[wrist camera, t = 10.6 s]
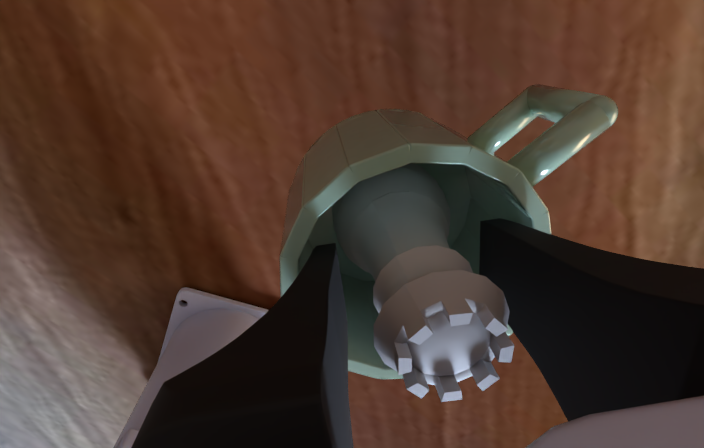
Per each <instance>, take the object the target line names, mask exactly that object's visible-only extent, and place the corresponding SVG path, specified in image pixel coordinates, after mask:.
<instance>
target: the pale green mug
mask: <svg viewBox="0 0 704 448" xmlns="http://www.w3.org/2000/svg"><path fill="white" fill-rule="evenodd" d="M617 116H618V107H617V104H616V103H615V101H614V100H613V99H611V98H609V97H607V96H603V95H598V94H592V93H586V92H580V91H575V90H569V89H563V88H557V87H552V86H546V85H540V84H536V85H532V86H530V87H528V88H526V89H525V90H524V91H523V92H522V93H520V94H519V95H518V96H517V97H516V98H514V99H513V100H512V101H511V102H510V103H508V104H507V105H506V106H505V107H504V108H503V109H501V110H500V111H499V112H498V113H497V114H495V115H494V116H493V117H492V118H491V119H489V120H488V121H487V122H486V123H485V124H483V125H482V126H481V127H480V128H479V129H478V130H476V131H475V132H474V133H473V134H472V135H470V136H469V137H468V138H466V137H465V136H463V135H461V134H460V133H458V132H456V131H455V130H453V129H451V128H449V127H447V126H445V125H443V124H441V123H439V122H437V121H436V120H434V119H432V118H430V117H428V116H426V115H424V114H422V113H418V112H412V111H408V110H400V109H380V110H374V111H367V112H364V113H361V114H358V115H354V116H352V117H350V118H348V119H346V120H343V121H341V122H340V123H338V124H337V125H335V126H333V127H332V128H330V129H329V130H328V131H326V132H325V133H324V134H323V135H322V136H320V137H319V138H318V139H317V141H316V142H315V143H314V144H313V145H312V146H311V147H310V148H309V150H308V151H307V153H306V154H305V156H304V157H303V159H302V161H301V162H300V164H299V166H298V168H297V171H296V174H295V176H294V179H293V183H292V185H291V187H290V190H289V195H288V202H287V209H286V216H285V223H284V230H283V237H282V244H281V251H280V290H281V297H282V296H283V294H284V293H285V292H286V291H287V289H288V288H289V287H290V285H291V284H292V283H293V281H294V280H295V279H296V277H297V276H298V274H299V273H300V271H301V270H302V268H303V267H304V265H305V263H306V262H307V260H308V258H309V256H310V255H311V253H312V251H313V249H314V248H315V247H316V246H318V245H325V244H332V243H336V249H337V255H338V261H339V267H340V273H341V279H342V285H343V291H344V298H345V306H346V314H347V322H348V371H351V372H355V373H358V374H362V375H366V376H369V377H373V378H377V379H404V378H403V375H402V374H401V375H398V372H397V371H395V370H394V369H392V368H391V367H389V366H387V365H386V364H384V362H383V361H382V359H381V357H380V356H379V354H378V352H377V351H376V349H375V347H374V323H375V321H376V319H377V317H378V315H379V313H378V311H377V309H376V308H375V306H374V302H373V287H374V284H375V280H374V278H373V276H372V275H371V274H370V273H369V272H365V271H364V270H363V269H361V268H360V267H359V266H357V265H356V264H355V263H353V262H352V261H350V260H349V258H348V257H347V256H346V254H345V252H344V251H343V249H342V247H341V245H340V244H339V242H338V240H337V234H336V232H335V230H334V224H333V210H332V209H333V206H334V203H335V202H336V201H338V200H339V199H340V198H341V197H342V196H343V195H344V194H345V193H347V192H348V191H349V190H350V189H351V188H352V187H353V186H355V185H356V184H357V183H358V182H360V181H363V180H365V179H368V178H371V177H374V176H376V175H379V174H382V173H385V172H387V171H390V170H393V169H396V168H398V167H401V166H404V165H406V164H409V163H413V164H416V165H418V166H421V167H423V168H424V169H425V170H426V171H427V172H428V173H429V174H430V175H431V176H432V177H433V178H434V179H435V180H436V181H437V183H438V185H439V187H440V188H441V189H442V190H443V192H444V195H445V198H446V200H447V203H448V206H449V208H450V214H451V215H450V228H449V235H448V237H447V242H448V245H449V248H450V249H452V250H455V251H457V252H458V253H459V254H460V255H461V256H463V257H464V258H465V259H466V260H467V261H468V262H469V263H470V266H471V269H472V271H473V273H475V274H478V275H479V261H480V221H484V220H491V219H497V218H501V219H506V220H510V221H513V222H516V223H519V224H522V225H525V226H528V227H531V228H534V229H537V230H540V231H542V232H545V233H548V234H551V227H550V218H549V211H548V209H547V207H546V206H545V204H544V203H543V201H542V200H541V198H540V197H539V195H538V194H537V193H536V191H535V190H534V188H533V186H534V185H536V184H537V183H538V182H540V181H541V180H542V179H543V178H545V177H546V176H547V175H549V174H550V173H551V172H553V171H554V170H555V169H556V168H558V167H559V166H560V165H562V164H563V163H564V162H566V161H567V160H568V159H569V158H571V157H572V156H573V155H575V154H576V153H577V152H579V151H580V150H581V149H582V148H584V147H585V146H586V145H588V144H589V143H590V142H592V141H593V140H594V139H595V138H597V137H598V136H599V135H601V134H602V133H603V132H605V131H606V130H607V129H608V128H610V127H611V126H612V125H613V124H614V122H615V121H616V119H617ZM537 117H539V118H542V119H545V120H548V121H551V122H555V124H554V125H552V126H551V127H550V128H549V129H547V130H546V131H545V132H544V133H542V134H541V135H540V136H539V137H537V138H536V139H535V140H534V141H532V142H531V143H530V144H529V145H527V146H526V147H525V148H524V149H523V150H521V151H520V152H519V153H518V154H516V155H515V156H514V157H513V158H511V159H510V160H509V161H508V162H507V161H505V160H503V159H502V158H500V157H498V156H496V155H495V154H493V153H494V152H495V151H496V150H497V149H499V148H500V147H501V146H502V145H504V144H505V143H506V142H507V141H508V140H510V139H511V138H512V137H513V136H515V135H516V134H517V133H518V132H519V131H521V130H522V129H523V128H524V127H526V126H527V125H528V124H529V123H531V122H532V121H533V120H534V119H535V118H537ZM507 328H508V329H509V330H507V331H506V334H507V335H508V337H509V336H510V335H511V334H512V333H513V331H512V329H511V328H510V326H509V325H508V324H507Z"/></svg>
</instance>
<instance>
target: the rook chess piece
mask: <svg viewBox="0 0 704 448" xmlns="http://www.w3.org/2000/svg"><path fill="white" fill-rule="evenodd" d="M332 210H333V224H334V230H335V232H336V234H337V240H338V242H339V244H340V245H341V247H342V249H343V251H344V252H345V254H346V256H347V257H348V258H349V260H350V261H352V262H353V263H355V264H356V265H357V266H359V267H360V268H361V269H363V270H364V271H365V272H369V273H370V274H371V275H372V276H373V278H374V280H375V284H374V287H373V302H374V306H375V308H376V309H377V311H378V313H379V315H378V317H377V319H376V321H375V323H374V347H375V349H376V351H377V352H378V354H379V356H380V357H381V359H382V361H383V362H384V364H386V365H387V366H389V367H391V368H392V369H394V370H395V371H397V372H398V375H401V374H402V375H403V378H404V381H405V385H406V389H407V390H409V391H410V392H412V393H414V394H415V395H417V396H419V397H420V398H423V396H424V395H425V394H426V393H427V392H428V391H429V388H428V385H427V384H431V385H435V386H436V389H437V392H438V395H439V397H440V400H441V402H444V401H453V400H461V399H462V394H461V390H460V387H459V385H458V383H457V382H459V381H461V380H464V379H466V378H468V377H471V376H473V377H474V379H475V381H476V383H477V385H478V386H479V387H480V389H481V390H482V391H484V390H485V389H486V388H488V387H489V386H490V385H492V384H493V383H494V382H496V381H497V380H498V379H500V378H499V376H498V374H497V373H496V371H495V369H494V367H493V366H492V364H491V361H492V360H493V358H494V357H496V358H497V360H498V362H511V359H512V354H513V349H514V344H513V343H512V341H511V340H510V338H509V337H508V335H507V334H506V331H507V330H509V329H508V328H507V323H508V318H509V312H510V311H509V308H508V305H507V302H506V299H505V296H504V293H503V291H502V290H501V289H500V288H498V287H497V286H496V285H495V284H494V283H493V282H492V281H490V280H489V279H488V278H487V277H486V276H482V275H478V274H475V273H473V271H472V269H471V266H470V263H469V262H468V261H467V260H466V259H465V258H464V257H463V256H461V255H460V254H459V253H458V252H457V251H455V250H452V249H450V248H449V245H448V242H447V237H448V235H449V228H450V215H451V214H450V208H449V206H448V203H447V200H446V198H445V195H444V192H443V190H442V189H441V188H440V187H439V185H438V183H437V181H436V180H435V179H434V178H433V177H432V176H431V175H430V174H429V173H428V172H427V171H426V170H425V169H424V168H423V167H421V166H418V165H416V164H413V163H409V164H406V165H404V166H401V167H398V168H396V169H393V170H390V171H387V172H385V173H382V174H379V175H376V176H374V177H371V178H368V179H365V180H363V181H360V182H358V183H357V184H356V185H355V186H353V187H352V188H351V189H350V190H349V191H348V192H347V193H345V194H344V195H343V196H342V197H341V198H340V199H339V200H338V201H336V202H335V203H334V206H333V209H332Z"/></svg>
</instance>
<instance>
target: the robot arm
mask: <svg viewBox="0 0 704 448" xmlns="http://www.w3.org/2000/svg"><path fill="white" fill-rule="evenodd" d="M479 275H482V276H486V277H487V278H488V279H489V280H490V281H492V282H493V283H494V284H495V285H496V286H497V287H498V288H500V289H501V290H502V291H503V293H504V296H505V299H506V302H507V305H508V308H509V311H510V312H509V318H508V323H507V324H508V325H509V326H510V328H511V329H512V331H513V332H514V333H515V335H516V336H517V337H518V339H519V340H520V342H521V343H522V344H523V346H524V347H525V349H526V350H527V351H528V353H529V354H530V356H531V357H532V358H533V360H534V362H535V363H536V365H537V366H538V368H539V369H540V371H541V373H542V374H543V376H544V378H545V380H546V381H547V383H548V385H549V387H550V388H551V390H552V392H553V394H554V395H555V397H556V399H557V401H558V403H559V405H560V406H561V408H562V410H563V412H564V414H565V416H566V418H567V420H568V422H565V423H563V424H560V425H557V426H554V427H552V428H550V429H549V430H548V431H547V432H545V433H544V434H543V435H541V436H540V437H539V438H538V439H536V440H535V441H534V442H532V443H531V444H530V445H528V446H527V447H526V448H704V269H702V268H694V267H686V266H680V265H674V264H667V263H661V262H655V261H649V260H644V259H639V258H634V257H630V256H625V255H621V254H616V253H612V252H608V251H604V250H600V249H596V248H593V247H589V246H586V245H583V244H579V243H576V242H572V241H569V240H566V239H563V238H560V237H557V236H554V235H551V234H548V233H545V232H542V231H540V230H537V229H534V228H531V227H528V226H525V225H522V224H519V223H516V222H513V221H510V220H506V219H501V218H497V219H491V220H484V221H480V261H479ZM181 300H185V301H186V302H187V303H183V302H182V301H181ZM114 448H353V439H352V429H351V419H350V409H349V398H348V322H347V314H346V306H345V298H344V291H343V285H342V279H341V273H340V267H339V261H338V255H337V249H336V243H332V244H325V245H318V246H316V247H315V248H314V249H313V251H312V253H311V255H310V256H309V258H308V260H307V262H306V263H305V265H304V267H303V268H302V270H301V271H300V273H299V274H298V276H297V277H296V279H295V280H294V281H293V283H292V284H291V285H290V287H289V288H288V289H287V291H286V292H285V293H284V294H283V296H282V297H281V298H280V299H279V300H278V302H277V303H276V304H275V305H274V306H273V307H272V308H271V309H270V310H267V309H264V308H260V307H257V306H253V305H249V304H246V303H242V302H239V301H235V300H231V299H228V298H224V297H220V296H217V295H213V294H210V293H206V292H202V291H199V290H195V289H192V288H187V287H184V288H181V289H180V290H179V292H178V293H177V296H176V299H175V303H174V307H173V310H172V314H171V317H170V321H169V324H168V328H167V332H166V335H165V339H164V342H163V346H162V349H161V353H160V357H159V360H158V364H157V366H156V368H155V370H154V371H153V373H152V375H151V377H150V379H149V381H148V383H147V385H146V387H145V389H144V391H143V392H142V394H141V396H140V398H139V400H138V402H137V404H136V406H135V408H134V410H133V412H132V414H131V415H130V417H129V419H128V421H127V423H126V425H125V427H124V429H123V431H122V433H121V435H120V436H119V438H118V440H117V442H116V444H115V446H114Z"/></svg>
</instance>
